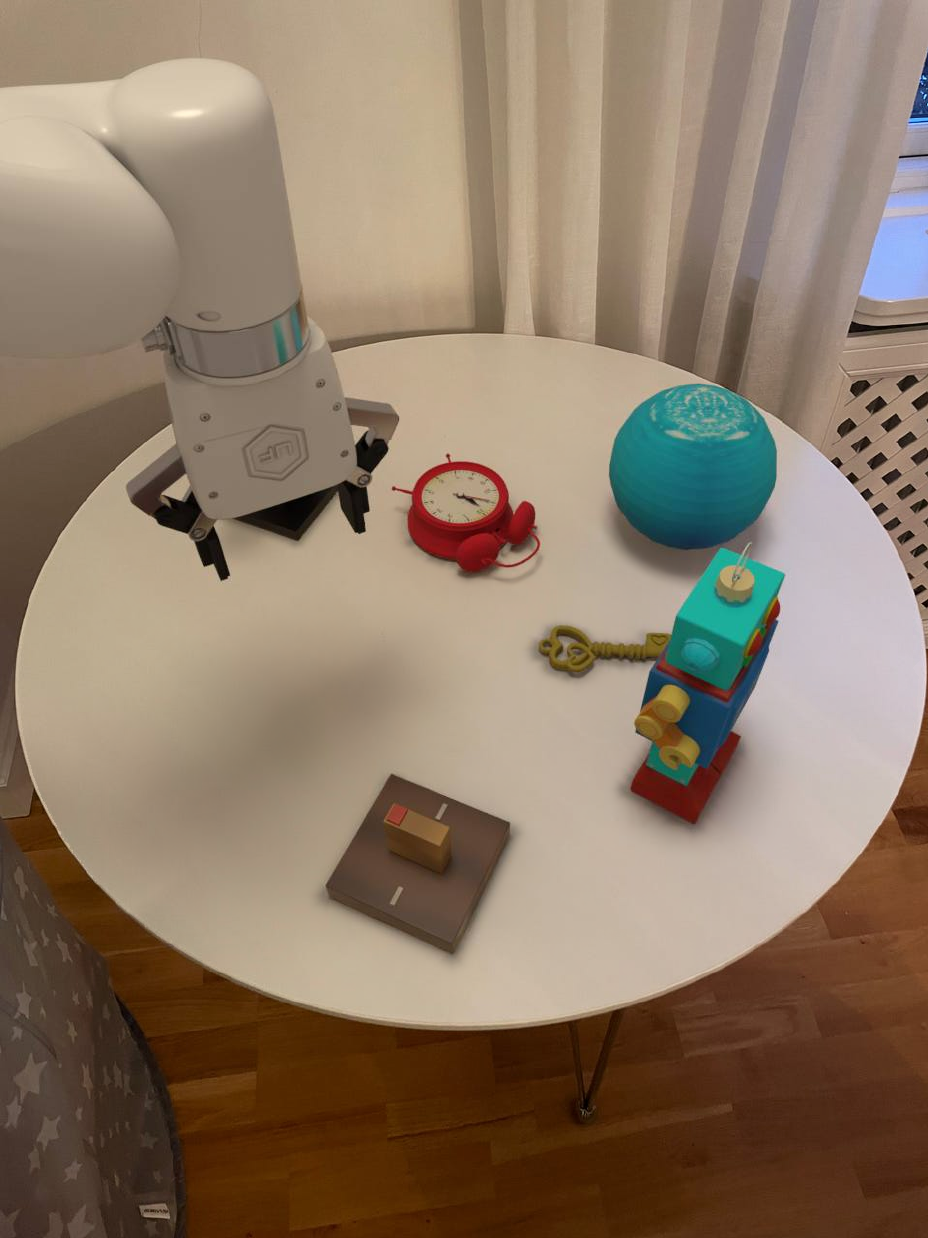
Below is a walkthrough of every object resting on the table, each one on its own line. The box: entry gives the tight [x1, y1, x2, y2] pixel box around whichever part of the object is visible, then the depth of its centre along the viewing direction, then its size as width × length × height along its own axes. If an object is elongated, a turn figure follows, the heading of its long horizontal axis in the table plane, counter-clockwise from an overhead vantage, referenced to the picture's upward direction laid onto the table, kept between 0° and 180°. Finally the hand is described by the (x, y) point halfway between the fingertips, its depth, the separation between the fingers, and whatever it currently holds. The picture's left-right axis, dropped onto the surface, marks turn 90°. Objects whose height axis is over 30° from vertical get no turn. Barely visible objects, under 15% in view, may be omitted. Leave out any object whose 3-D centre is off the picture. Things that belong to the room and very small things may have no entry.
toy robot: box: [629, 541, 786, 825], centre depth 64 cm, size 12×6×25 cm, turn 147°
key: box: [538, 625, 671, 673], centre depth 81 cm, size 12×1×5 cm
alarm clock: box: [391, 453, 541, 573], centre depth 89 cm, size 10×6×15 cm
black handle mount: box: [233, 485, 338, 541], centre depth 91 cm, size 12×10×12 cm
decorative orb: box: [608, 383, 778, 551], centre depth 85 cm, size 15×15×15 cm
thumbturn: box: [383, 803, 451, 874], centre depth 66 cm, size 4×2×5 cm, turn 64°
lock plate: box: [325, 773, 511, 955], centre depth 68 cm, size 10×10×2 cm
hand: (287, 542), depth 64 cm, fingers open, 9 cm apart
